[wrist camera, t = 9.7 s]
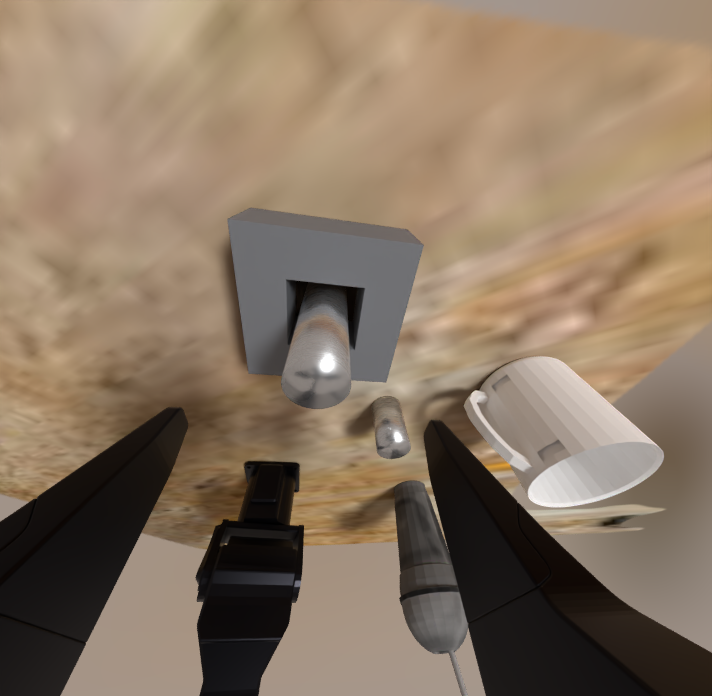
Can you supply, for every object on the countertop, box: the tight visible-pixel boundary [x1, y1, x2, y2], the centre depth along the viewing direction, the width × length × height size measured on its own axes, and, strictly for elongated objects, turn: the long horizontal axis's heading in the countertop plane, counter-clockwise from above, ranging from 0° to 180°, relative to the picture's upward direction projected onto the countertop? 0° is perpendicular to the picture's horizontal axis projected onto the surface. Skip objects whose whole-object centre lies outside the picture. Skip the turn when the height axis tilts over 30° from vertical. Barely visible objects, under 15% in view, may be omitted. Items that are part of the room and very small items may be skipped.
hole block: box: [228, 208, 424, 382], centre depth 18 cm, size 10×10×4 cm
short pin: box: [371, 396, 411, 459], centre depth 25 cm, size 3×3×5 cm
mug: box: [464, 356, 664, 507], centre depth 22 cm, size 12×9×9 cm
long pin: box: [281, 282, 351, 409], centre depth 15 cm, size 3×3×10 cm
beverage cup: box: [394, 481, 468, 696], centre depth 29 cm, size 7×7×20 cm
